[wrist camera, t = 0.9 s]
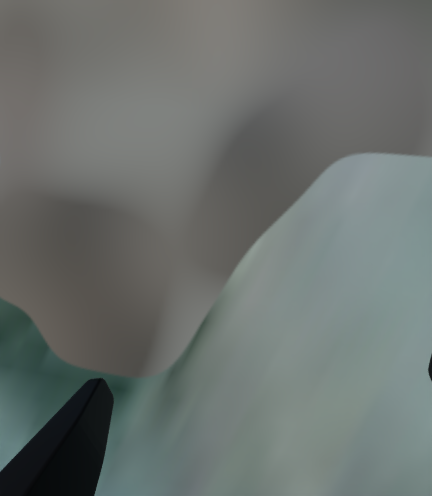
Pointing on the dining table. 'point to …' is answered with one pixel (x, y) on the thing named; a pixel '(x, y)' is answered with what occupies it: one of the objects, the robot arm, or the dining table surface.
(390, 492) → the dining table surface
